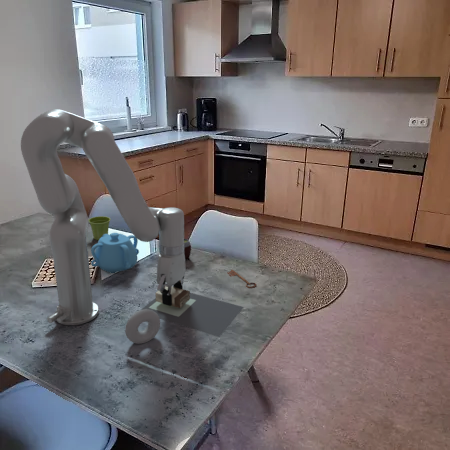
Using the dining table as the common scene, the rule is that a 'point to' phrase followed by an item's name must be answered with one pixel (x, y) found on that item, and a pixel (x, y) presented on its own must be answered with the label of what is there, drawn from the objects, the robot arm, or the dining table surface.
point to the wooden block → (175, 296)
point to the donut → (137, 319)
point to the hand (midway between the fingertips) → (172, 299)
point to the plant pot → (99, 226)
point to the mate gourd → (187, 249)
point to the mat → (198, 314)
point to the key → (241, 278)
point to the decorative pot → (115, 252)
